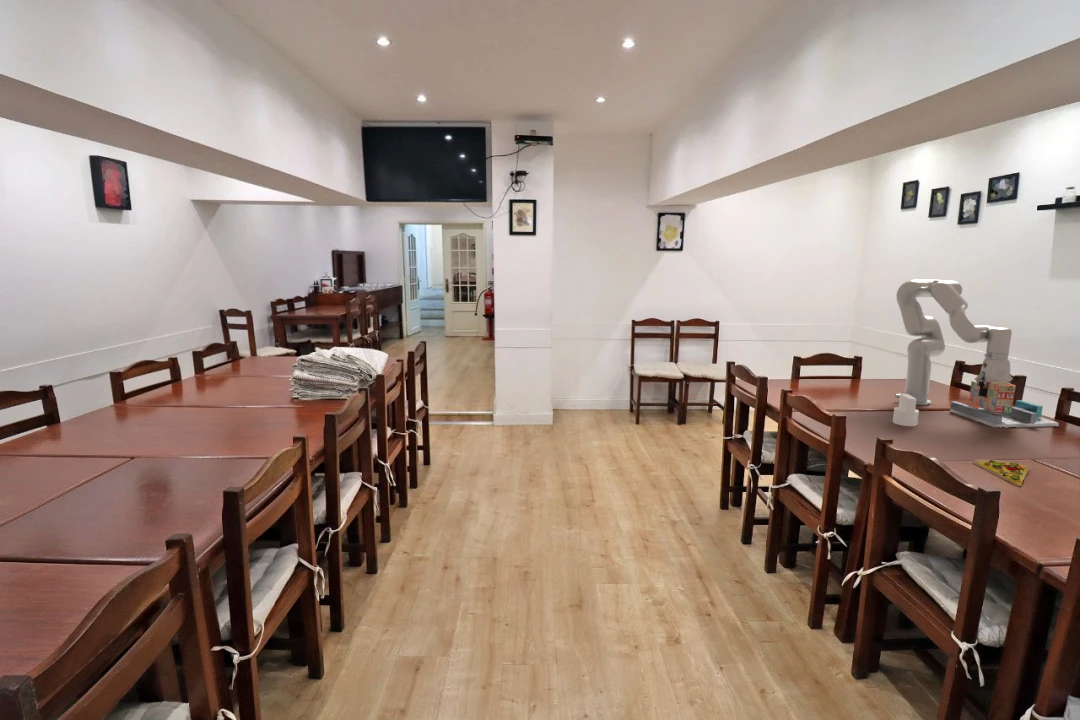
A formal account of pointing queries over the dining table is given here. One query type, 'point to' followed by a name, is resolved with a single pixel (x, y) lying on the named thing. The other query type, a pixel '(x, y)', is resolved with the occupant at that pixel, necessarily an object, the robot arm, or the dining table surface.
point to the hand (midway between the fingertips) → (991, 395)
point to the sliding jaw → (1025, 411)
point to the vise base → (1012, 421)
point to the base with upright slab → (906, 411)
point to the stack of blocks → (994, 396)
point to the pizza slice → (1005, 470)
